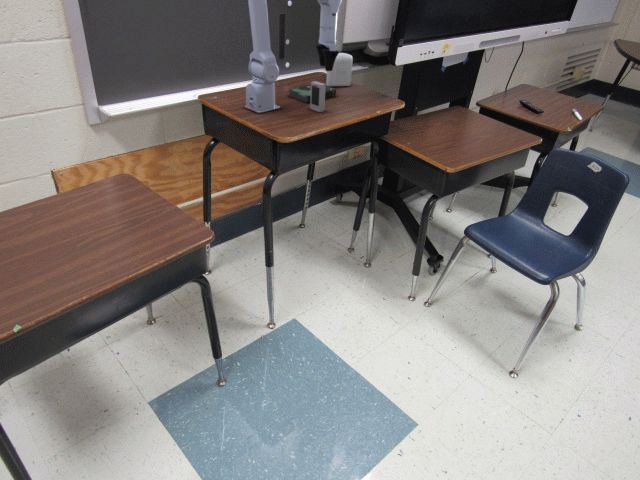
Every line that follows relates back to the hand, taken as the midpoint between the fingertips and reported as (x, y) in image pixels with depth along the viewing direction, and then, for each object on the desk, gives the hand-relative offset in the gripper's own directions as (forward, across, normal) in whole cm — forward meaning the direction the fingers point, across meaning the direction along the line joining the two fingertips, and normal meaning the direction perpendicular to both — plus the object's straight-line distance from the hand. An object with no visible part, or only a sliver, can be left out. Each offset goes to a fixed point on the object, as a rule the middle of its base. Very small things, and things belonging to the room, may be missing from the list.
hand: (325, 68), depth 163 cm
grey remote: (+10, -15, +7) cm, 19 cm away
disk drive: (+10, +1, +4) cm, 11 cm away
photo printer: (+10, +14, -10) cm, 20 cm away
